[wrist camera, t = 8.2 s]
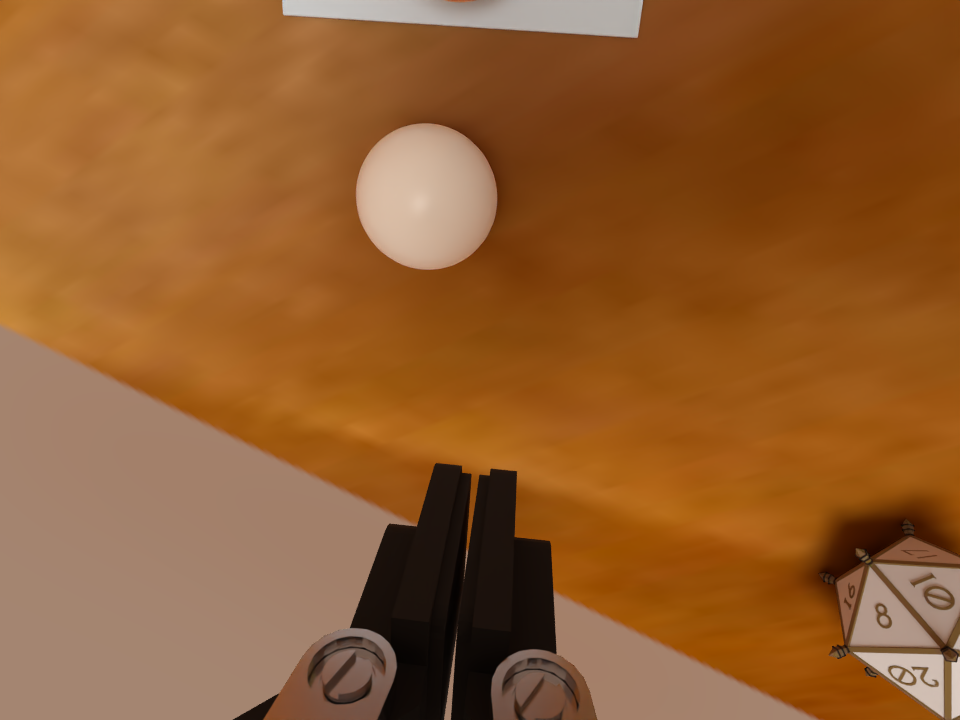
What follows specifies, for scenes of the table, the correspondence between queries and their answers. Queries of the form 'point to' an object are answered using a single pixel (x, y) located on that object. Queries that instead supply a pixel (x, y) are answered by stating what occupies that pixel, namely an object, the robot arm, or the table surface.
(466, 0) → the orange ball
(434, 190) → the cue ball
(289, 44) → the table surface
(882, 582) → the game die
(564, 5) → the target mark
